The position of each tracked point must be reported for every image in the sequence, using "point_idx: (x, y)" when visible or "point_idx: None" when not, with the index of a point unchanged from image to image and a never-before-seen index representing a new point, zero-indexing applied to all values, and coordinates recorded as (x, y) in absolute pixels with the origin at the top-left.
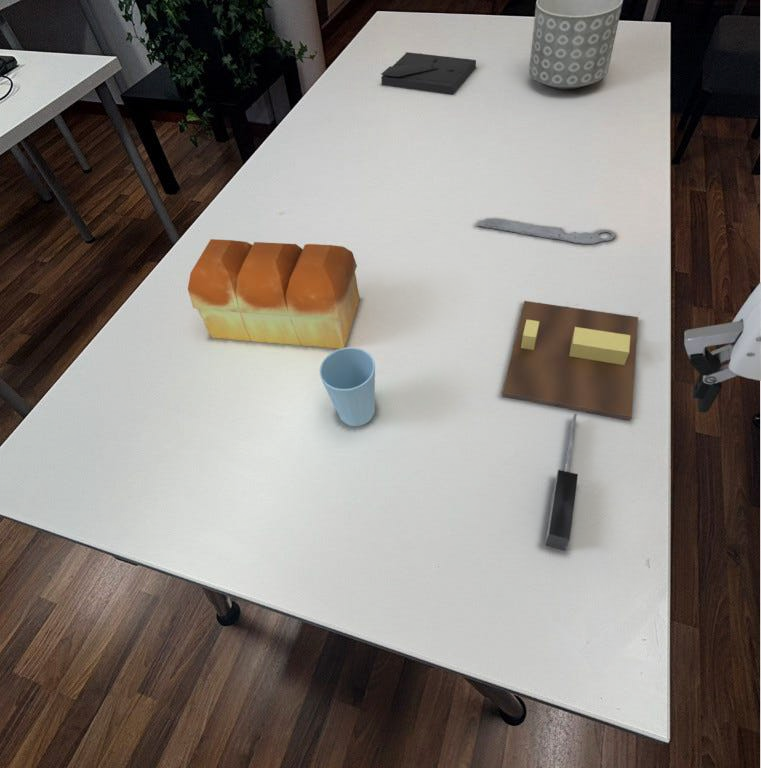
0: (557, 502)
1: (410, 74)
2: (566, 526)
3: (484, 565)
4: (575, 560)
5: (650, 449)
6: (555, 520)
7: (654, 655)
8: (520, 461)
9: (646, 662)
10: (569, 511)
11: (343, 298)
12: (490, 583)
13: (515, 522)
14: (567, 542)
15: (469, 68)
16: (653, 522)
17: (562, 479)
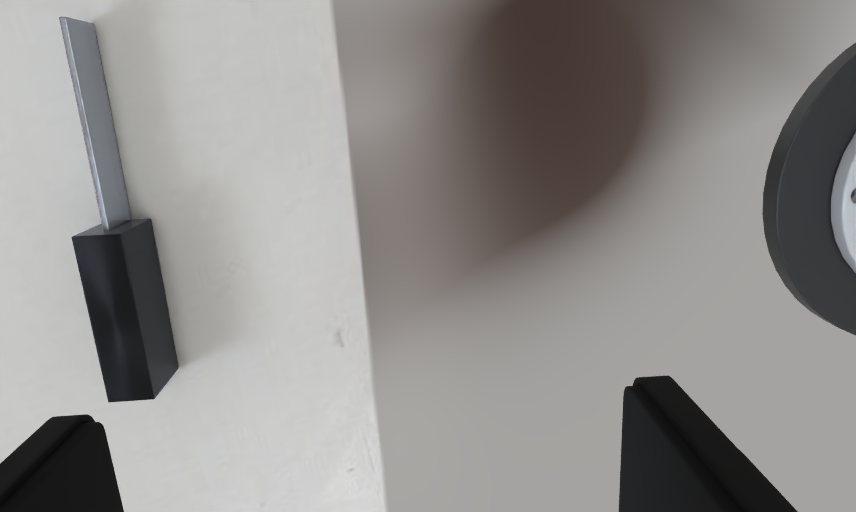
0: (100, 324)
1: None
2: (138, 374)
3: None
4: (204, 379)
5: (305, 46)
6: (111, 368)
7: (370, 487)
8: (7, 187)
9: (359, 500)
10: (133, 338)
11: None
12: None
13: (61, 342)
14: (159, 390)
15: None
16: (338, 248)
17: (90, 261)
